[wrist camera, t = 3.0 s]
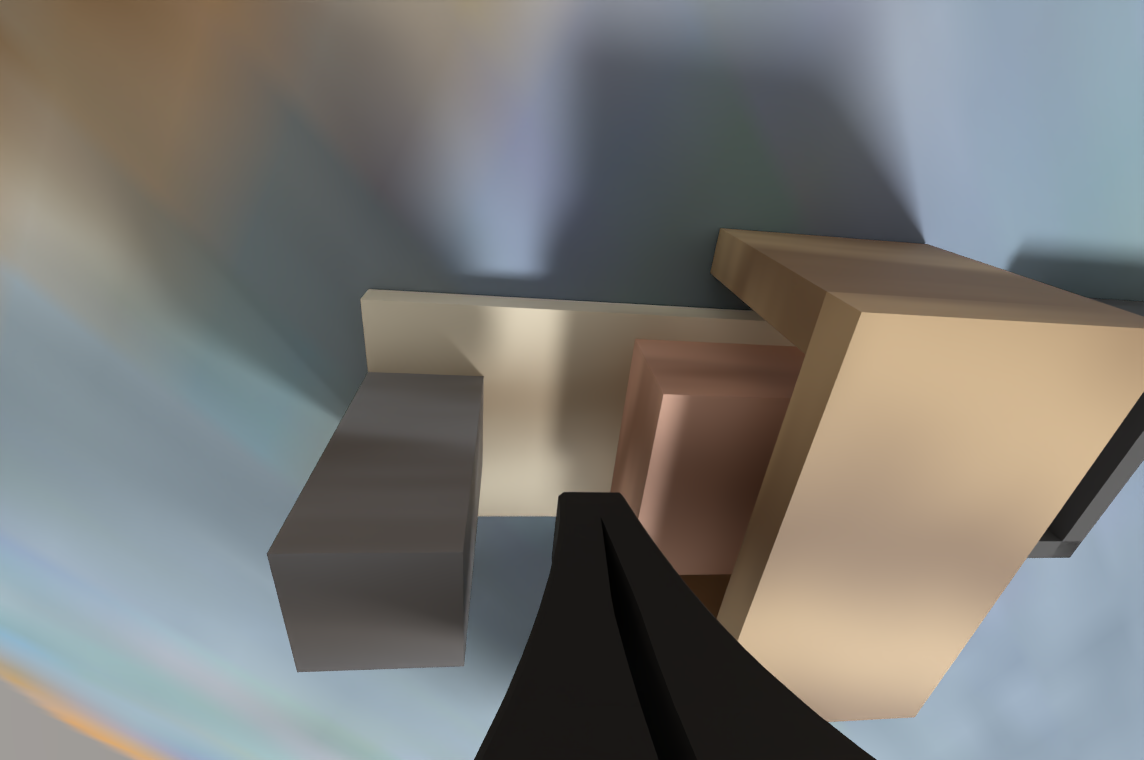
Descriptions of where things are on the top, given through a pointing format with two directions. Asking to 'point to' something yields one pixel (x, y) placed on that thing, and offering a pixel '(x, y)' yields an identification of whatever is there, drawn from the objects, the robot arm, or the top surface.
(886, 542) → the tunnel
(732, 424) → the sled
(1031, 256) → the top surface
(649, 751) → the robot arm
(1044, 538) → the tray
